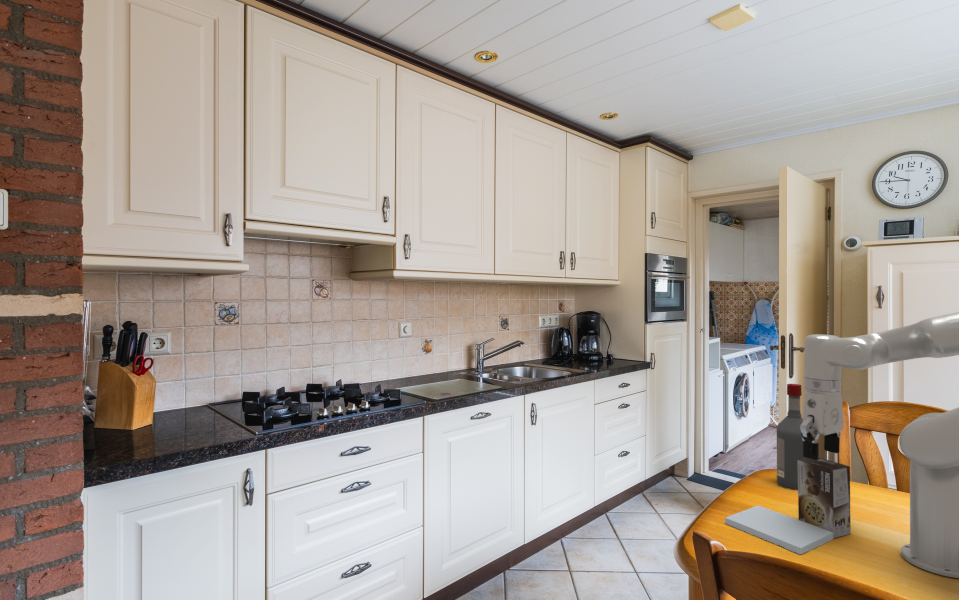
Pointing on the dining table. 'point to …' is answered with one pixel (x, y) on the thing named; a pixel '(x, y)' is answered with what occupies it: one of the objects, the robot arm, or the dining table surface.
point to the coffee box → (824, 495)
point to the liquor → (790, 440)
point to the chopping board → (780, 529)
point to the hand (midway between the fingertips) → (821, 455)
